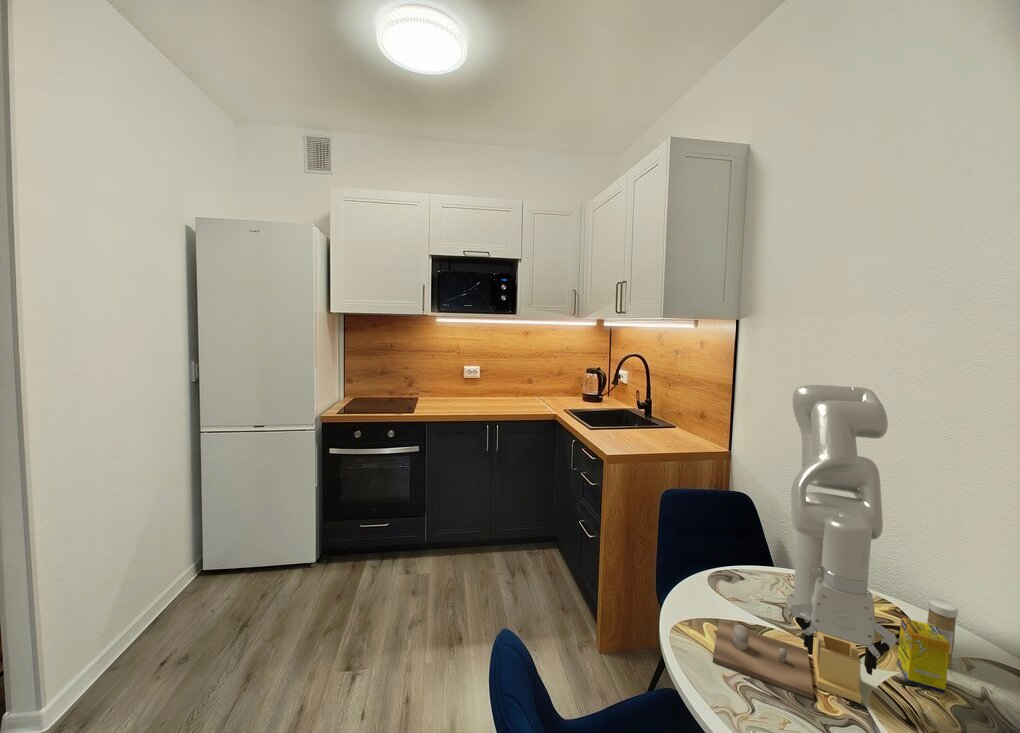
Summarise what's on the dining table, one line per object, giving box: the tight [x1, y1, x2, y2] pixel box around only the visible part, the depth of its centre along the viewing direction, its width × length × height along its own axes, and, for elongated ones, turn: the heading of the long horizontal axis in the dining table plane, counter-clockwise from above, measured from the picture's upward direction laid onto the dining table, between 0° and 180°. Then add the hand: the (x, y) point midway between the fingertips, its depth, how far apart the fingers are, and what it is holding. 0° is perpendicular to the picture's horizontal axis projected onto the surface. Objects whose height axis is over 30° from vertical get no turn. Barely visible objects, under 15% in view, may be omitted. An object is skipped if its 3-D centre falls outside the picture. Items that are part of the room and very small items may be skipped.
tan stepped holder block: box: [811, 631, 862, 704], centre depth 91 cm, size 16×7×8 cm, turn 149°
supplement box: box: [896, 617, 950, 694], centre depth 89 cm, size 6×6×11 cm
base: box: [712, 620, 814, 700], centre depth 94 cm, size 14×18×5 cm
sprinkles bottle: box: [926, 597, 959, 668], centre depth 94 cm, size 5×5×14 cm
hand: (838, 660), depth 87 cm, fingers open, 9 cm apart
